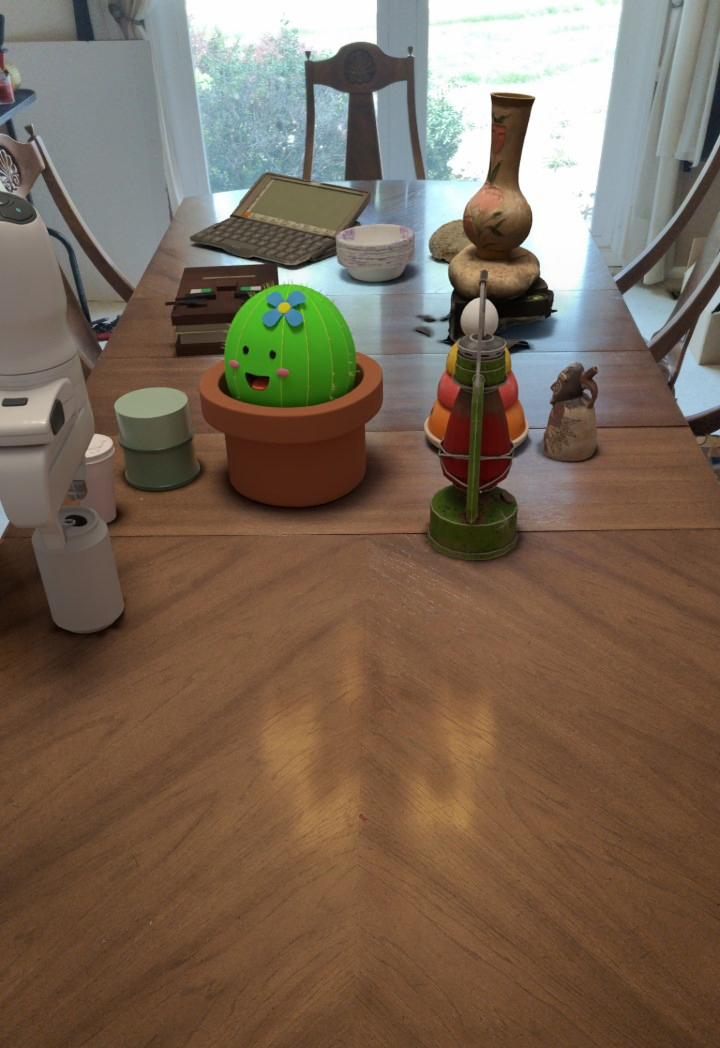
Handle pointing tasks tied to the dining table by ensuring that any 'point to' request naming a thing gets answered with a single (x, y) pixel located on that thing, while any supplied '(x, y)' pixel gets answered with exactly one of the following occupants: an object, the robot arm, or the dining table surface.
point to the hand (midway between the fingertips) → (68, 520)
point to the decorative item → (448, 240)
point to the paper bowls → (375, 251)
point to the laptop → (287, 220)
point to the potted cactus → (292, 399)
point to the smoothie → (100, 478)
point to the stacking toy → (449, 390)
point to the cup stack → (157, 438)
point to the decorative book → (214, 303)
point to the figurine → (572, 415)
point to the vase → (500, 232)
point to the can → (80, 573)
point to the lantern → (476, 454)
